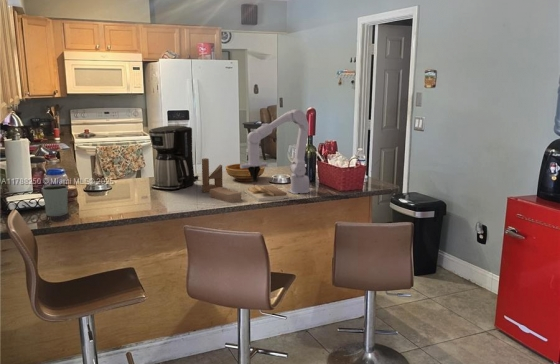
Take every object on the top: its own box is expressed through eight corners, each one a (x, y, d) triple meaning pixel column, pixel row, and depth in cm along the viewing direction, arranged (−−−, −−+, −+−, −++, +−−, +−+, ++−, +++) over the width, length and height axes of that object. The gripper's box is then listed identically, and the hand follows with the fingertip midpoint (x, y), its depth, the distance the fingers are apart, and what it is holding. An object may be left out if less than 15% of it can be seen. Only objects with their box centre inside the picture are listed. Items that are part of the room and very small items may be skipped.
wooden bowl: (218, 177, 288) (218, 164, 287) (253, 173, 299) (253, 161, 297) (235, 186, 262) (235, 172, 261) (273, 182, 273) (274, 169, 272)
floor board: (273, 190, 252) (273, 185, 251) (287, 198, 234) (288, 193, 233) (245, 192, 246) (245, 187, 245) (258, 201, 228) (258, 195, 227)
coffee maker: (146, 190, 250) (142, 128, 243) (164, 179, 281) (161, 123, 274) (187, 191, 248) (185, 128, 241) (201, 179, 280) (199, 124, 273)
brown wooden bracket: (222, 191, 249) (222, 158, 246) (203, 192, 245) (202, 159, 241) (220, 189, 253) (220, 157, 249) (201, 191, 248) (200, 158, 245)
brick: (242, 200, 231) (242, 191, 230) (229, 203, 225) (229, 193, 224) (221, 195, 242) (221, 186, 241) (209, 197, 236) (208, 188, 235)
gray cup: (39, 216, 200) (36, 189, 197) (54, 210, 210) (51, 184, 207) (60, 217, 198) (58, 190, 196) (74, 211, 208) (72, 185, 206)
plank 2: (267, 192, 239) (268, 190, 239) (273, 195, 231) (274, 193, 231) (254, 187, 236) (254, 184, 236) (260, 190, 228) (260, 188, 228)
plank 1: (261, 188, 248) (261, 186, 248) (267, 192, 240) (267, 190, 240) (247, 190, 245) (247, 187, 245) (253, 193, 237) (253, 191, 237)
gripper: (264, 153, 244) (264, 178, 247) (238, 155, 239) (238, 180, 241) (269, 155, 238) (269, 181, 241) (242, 156, 232) (242, 183, 235)
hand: (254, 181), depth 241 cm, fingers closed
